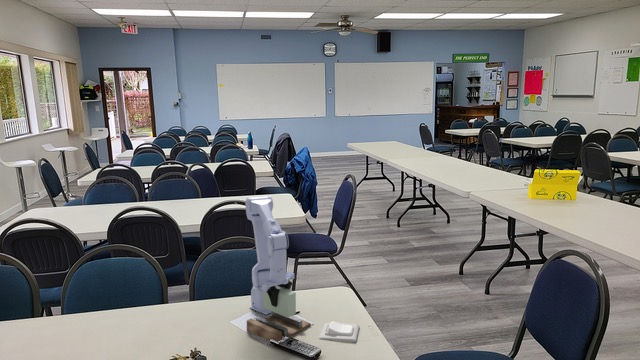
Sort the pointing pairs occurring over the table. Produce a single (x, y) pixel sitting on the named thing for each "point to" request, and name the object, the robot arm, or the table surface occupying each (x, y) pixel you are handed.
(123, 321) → the table surface
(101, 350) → the table surface
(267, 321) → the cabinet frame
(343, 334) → the light switch
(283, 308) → the pale green foam block
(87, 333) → the table surface
